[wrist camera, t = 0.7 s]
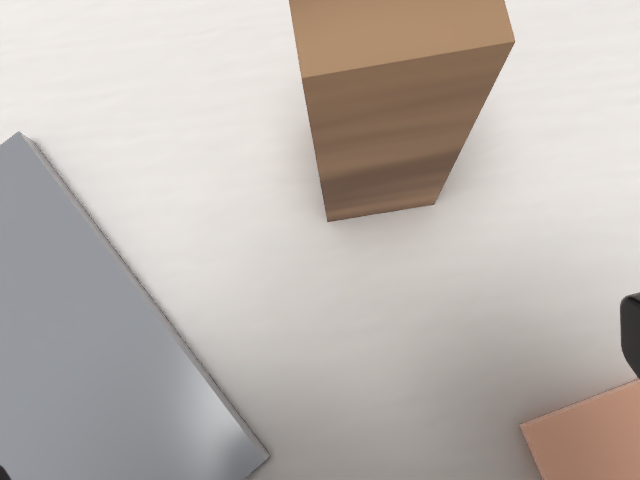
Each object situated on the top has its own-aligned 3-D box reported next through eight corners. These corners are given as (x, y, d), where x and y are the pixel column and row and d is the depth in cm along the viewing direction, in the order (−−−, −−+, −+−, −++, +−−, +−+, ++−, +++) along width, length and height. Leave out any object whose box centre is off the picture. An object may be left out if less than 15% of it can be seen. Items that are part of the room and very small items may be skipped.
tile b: (711, 515, 19) (735, 525, 18) (576, 567, 19) (592, 581, 18) (642, 374, 20) (660, 375, 19) (514, 423, 20) (525, 427, 19)
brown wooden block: (434, 204, 21) (515, 41, 11) (327, 222, 21) (301, 78, 11) (413, 106, 22) (468, -133, 12) (311, 123, 22) (273, -99, 12)
